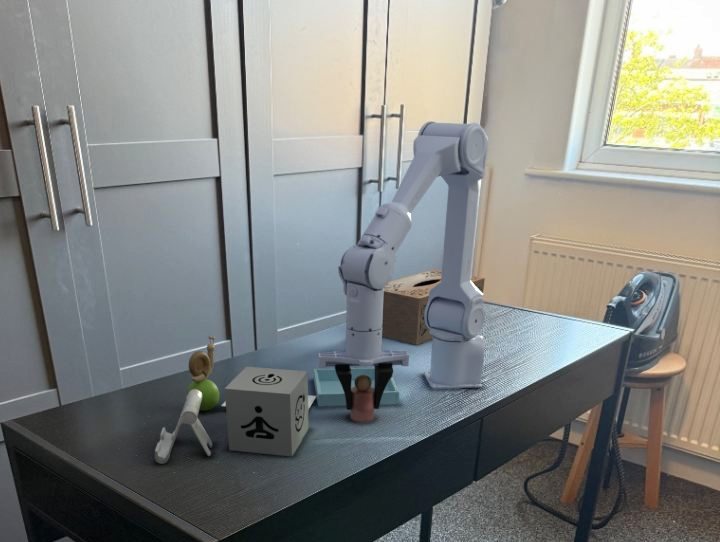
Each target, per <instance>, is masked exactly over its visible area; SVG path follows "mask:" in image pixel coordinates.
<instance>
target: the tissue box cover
mask: <svg viewBox="0 0 720 542" xmlns="http://www.w3.org/2000/svg"><path fill="white" fill-rule="evenodd" d="M441 276H442V269H441V270H440V269H435V268H433V269H430V270H427V271H423V272H419V273H415V274H411V275H408V276H404V277H400V278H397V279H393V280H390V281H389V282H388V283H387V285H386V286H385V287H384V295H383V320H382V337H384V338H388V339H391V340H396V341H399V342H403V343H407V344H410V345H411V344H412V345H415V346H418V345H420V344H422V343H426V342H428V341H430V340H431V341H432V340H433V335H432V334H430V329H429V328H428V327H427V326H426V324H425V319H424V312H425V308H426V305H427V303H428V299H429V291H430V290H431V289H432V288H433V287H434V286H436V285H437V284H439V283H440V282H441ZM471 281H472V283H473V284H474V285H475V286H476V287H477V288H478V290H479V291H480V292H481V293H482V294H483V295H484V288H485V277H479V276H473V275H472V277H471Z"/></svg>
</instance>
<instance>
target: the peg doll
mask: <svg viewBox="0 0 720 542" xmlns="http://www.w3.org/2000/svg"><path fill="white" fill-rule="evenodd" d="M371 384H372V382H371V379H370V377H369V376H368V375H365V374H361V375H359V376H357V377H356V379H355V387H353V388H351V403H352V408H351V410H349V411H350V414H349V415H350V416H349V417H350V420H352V421H354V422H357V423H368V422H371V421H373V420H375V408H374V404H375V389H374V388H372V387H371Z"/></svg>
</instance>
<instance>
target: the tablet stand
mask: <svg viewBox="0 0 720 542" xmlns="http://www.w3.org/2000/svg"><path fill="white" fill-rule="evenodd" d="M201 400H202V393H201V392H200V391H199V390H197V389H193V390H191V391H190V392H189V394H188V395H187V394H186V396H185V402H184V405H183V408H182V410H181V412H180V416H179V418H178V421H177V424H176V426H175V429H174V431H172V433H170V432H168V431H167V430H166V427H165V426H164V427H162V429H161V431H160V436H159V441H158V442H157V443H156V446H155V449H154V460H155V462H156V463H157V464H160V465H162V464H163V465H164V464H166V463H168V460H169V459H170V456H171V452H172V449H173V447H174V444H175V441H176V438H177V436H178V433H179V431H180V428H181V426H182V424H183V425H184V424H185V425H189V427H190V428H191V430H192V431H193V433H194V435H195V436H196V438H197V439H198V441H199V444H200V445H201V447H202V448H203V450H204V452H205V454H206V456H208V457H210V456H211V454H212V452H211V450H210V449H209V448H213V441H212V440H211V438H210V436H209V434H208V433H207V431H206V429H205V428H204V425H203V424H202V422H201V421H200V419H199V417H198V416H199V412H200V410H199V409H200V405H201Z"/></svg>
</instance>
